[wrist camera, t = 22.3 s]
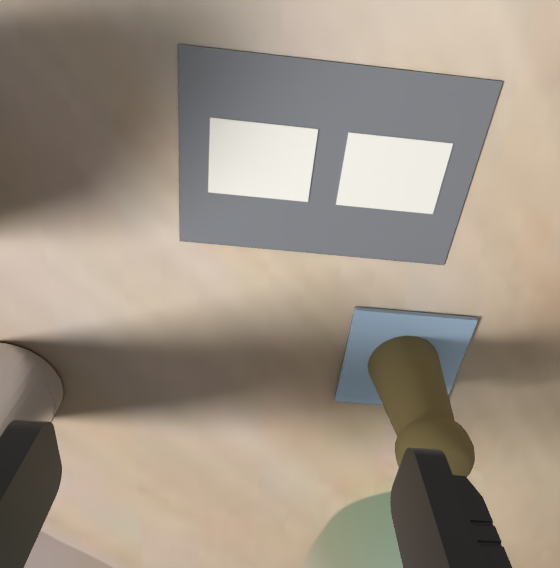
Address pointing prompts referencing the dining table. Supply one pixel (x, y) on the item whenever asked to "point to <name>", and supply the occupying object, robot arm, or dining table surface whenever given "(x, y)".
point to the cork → (419, 401)
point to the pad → (393, 323)
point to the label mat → (325, 154)
